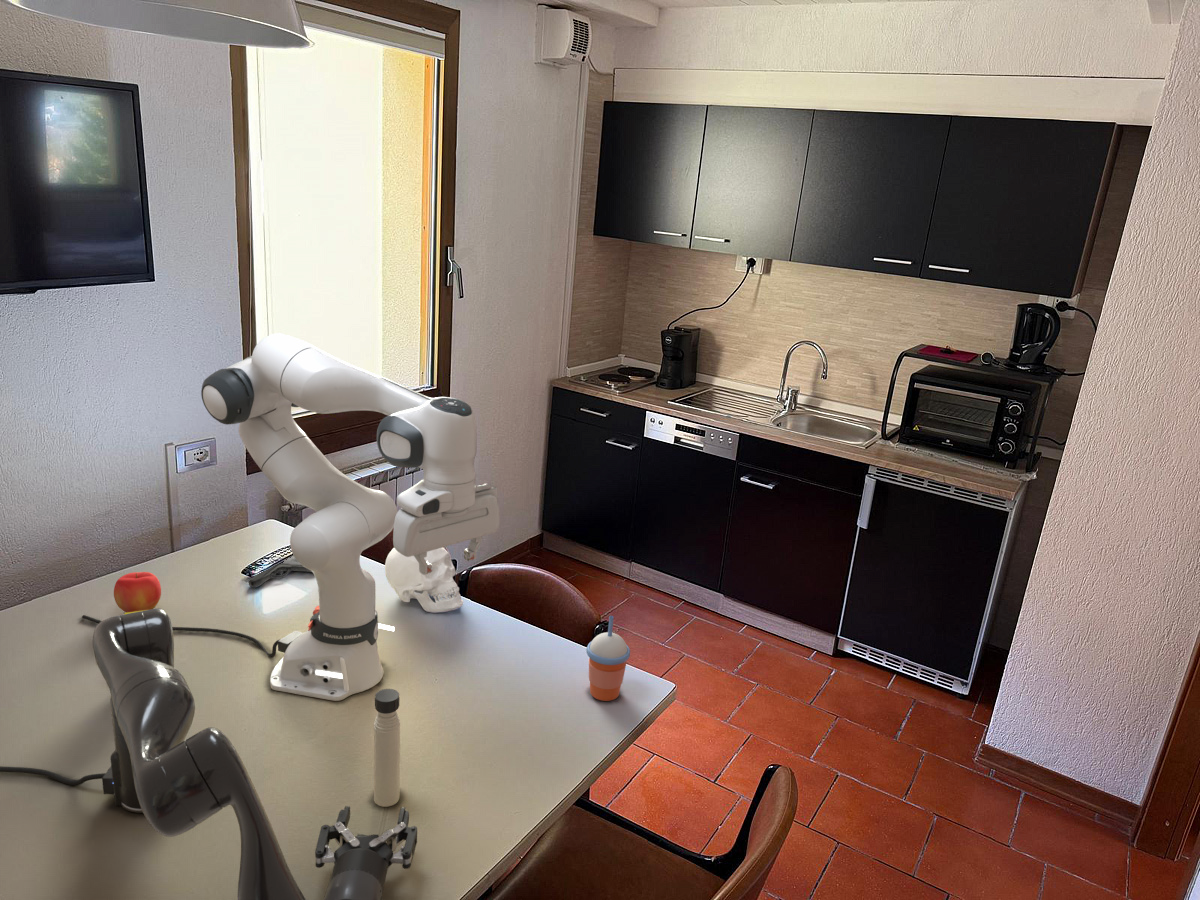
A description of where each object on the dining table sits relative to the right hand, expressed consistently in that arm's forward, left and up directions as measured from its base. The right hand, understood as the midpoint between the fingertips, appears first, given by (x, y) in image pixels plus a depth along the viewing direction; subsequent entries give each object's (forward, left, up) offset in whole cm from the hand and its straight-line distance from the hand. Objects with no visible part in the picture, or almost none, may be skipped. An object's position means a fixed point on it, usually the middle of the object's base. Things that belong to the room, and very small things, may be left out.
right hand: (448, 565), depth 151 cm
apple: (-76, +40, -36) cm, 93 cm away
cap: (-7, -16, -16) cm, 24 cm away
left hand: (-6, -27, -30) cm, 41 cm away
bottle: (-7, -16, -36) cm, 40 cm away
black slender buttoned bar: (-50, +64, -36) cm, 89 cm away
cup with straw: (+31, +19, -36) cm, 51 cm away
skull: (-13, +55, -36) cm, 67 cm away
